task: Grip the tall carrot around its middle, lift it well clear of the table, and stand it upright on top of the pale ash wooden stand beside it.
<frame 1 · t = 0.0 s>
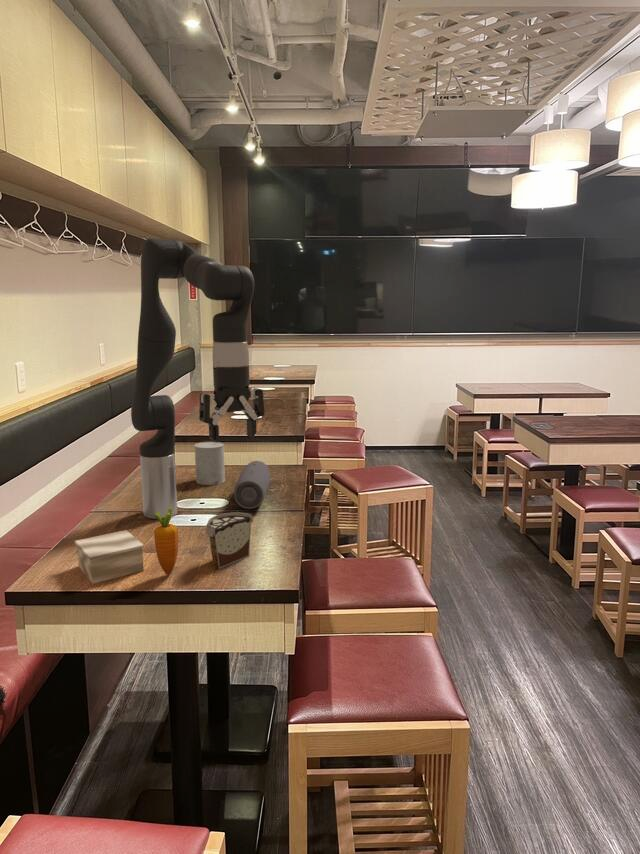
hand: (233, 439, 135), 29 cm above the table, tool pointing down, fingers open, 8 cm apart
carrot: (168, 576, 137), on the table
grey cylinder: (210, 481, 209), on the table
bluetooth speaker: (253, 501, 188), on the table
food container: (225, 559, 146), on the table
wooden stand: (110, 568, 141), on the table
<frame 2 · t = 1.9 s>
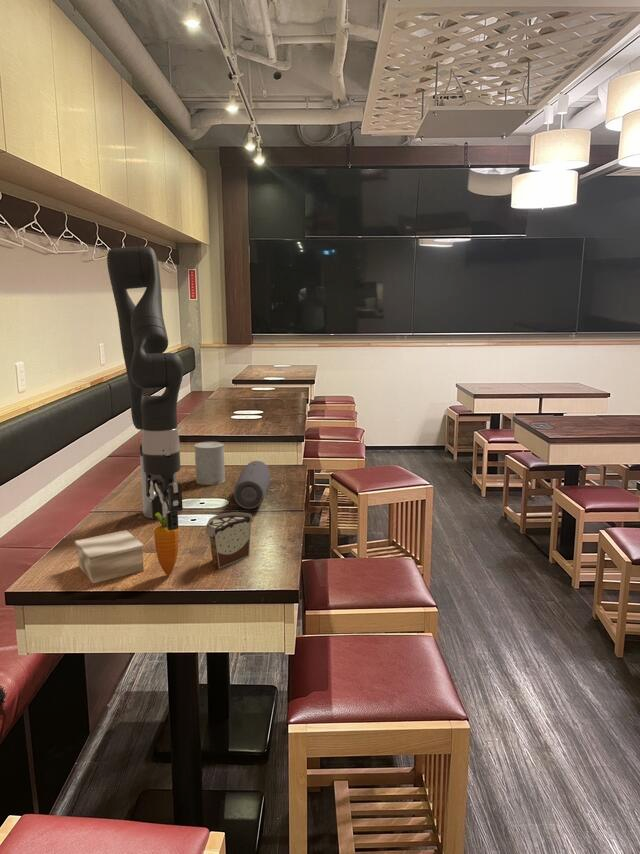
hand: (165, 523, 135), 12 cm above the table, tool pointing down, fingers open, 8 cm apart
nothing on the table moved.
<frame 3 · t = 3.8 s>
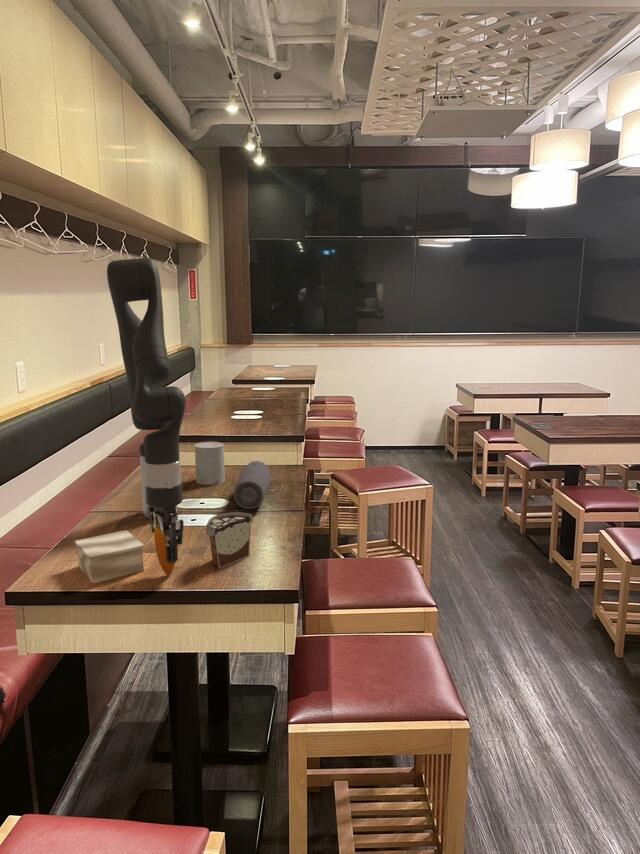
hand: (167, 557, 136), 4 cm above the table, tool pointing down, fingers closed on carrot, 4 cm apart
carrot: (168, 576, 137), on the table, touching gripper
everything else where it was.
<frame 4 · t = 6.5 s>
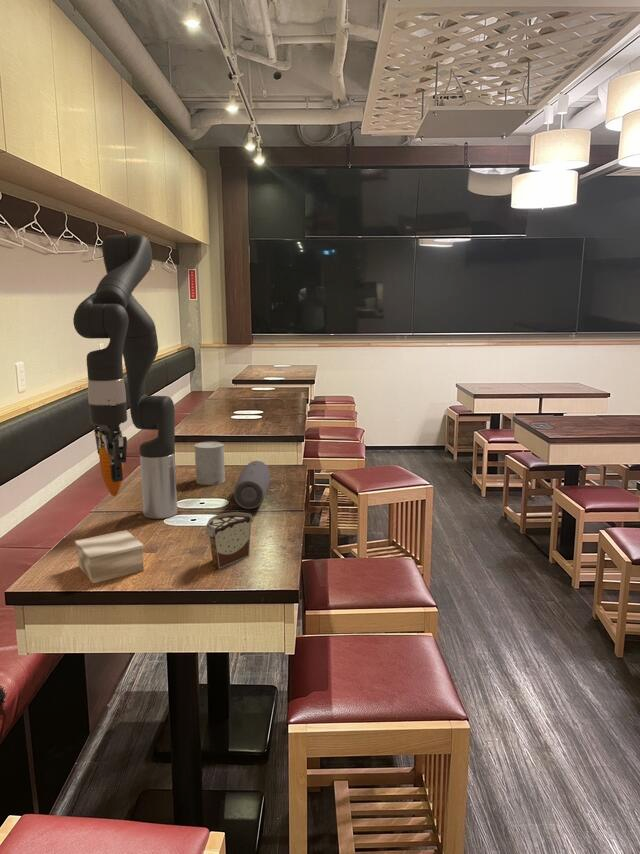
hand: (113, 477, 137), 21 cm above the table, tool pointing down, fingers closed on carrot, 4 cm apart
carrot: (114, 497, 137), point 17 cm above the table, touching gripper
everything else where it was.
when the fingers open (12 cm above the table, at t = 9.3 s): carrot drops 1 cm, resting on wooden stand.
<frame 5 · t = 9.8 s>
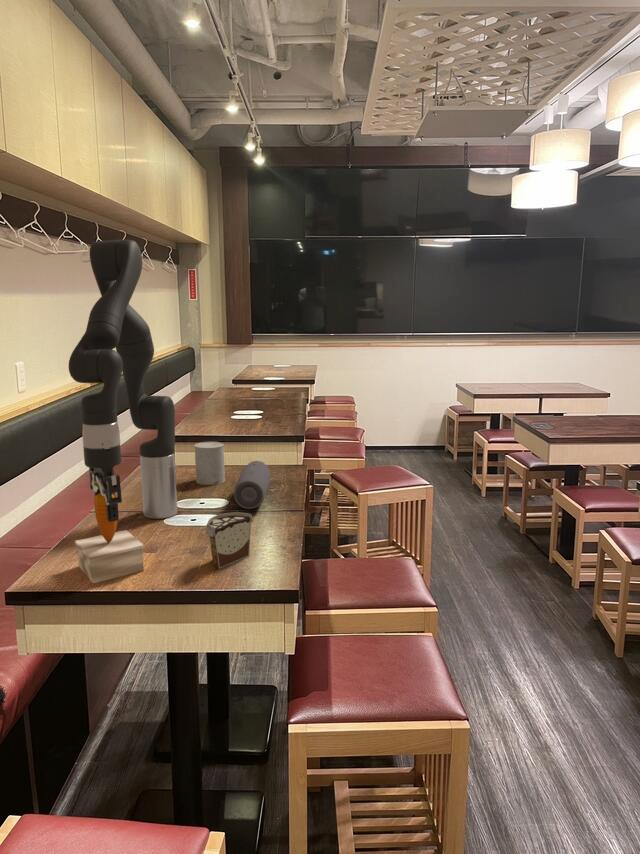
hand: (107, 515, 138), 12 cm above the table, tool pointing down, fingers open, 8 cm apart
carrot: (109, 543, 140), point 6 cm above the table, touching wooden stand
everything else where it was.
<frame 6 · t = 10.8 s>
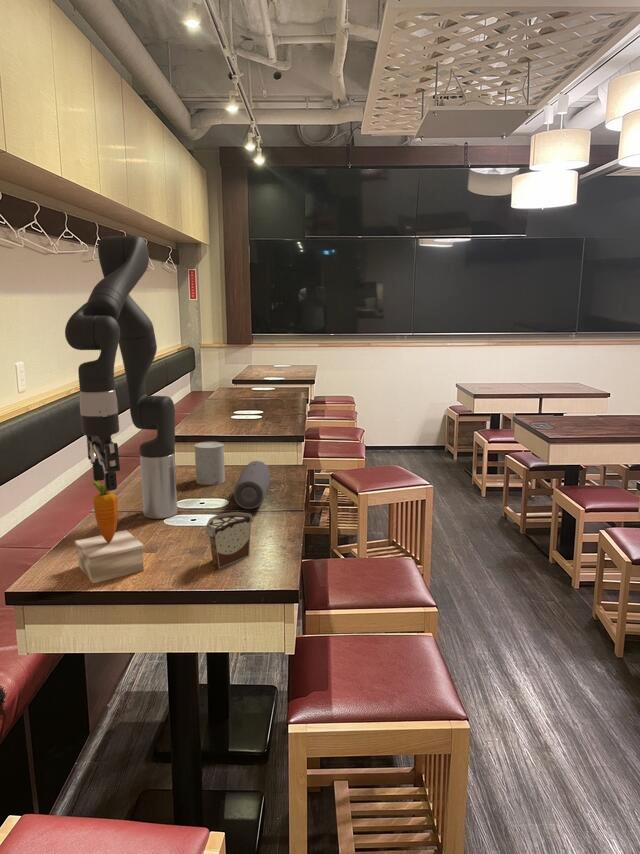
hand: (105, 484, 137), 19 cm above the table, tool pointing down, fingers open, 8 cm apart
nothing on the table moved.
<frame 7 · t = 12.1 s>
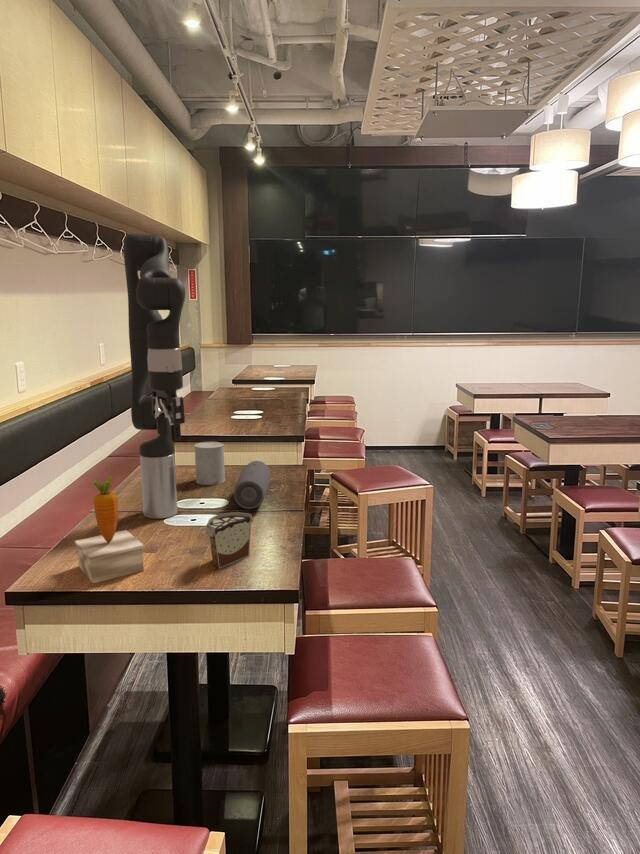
hand: (169, 437, 147), 27 cm above the table, tool pointing down, fingers open, 8 cm apart
nothing on the table moved.
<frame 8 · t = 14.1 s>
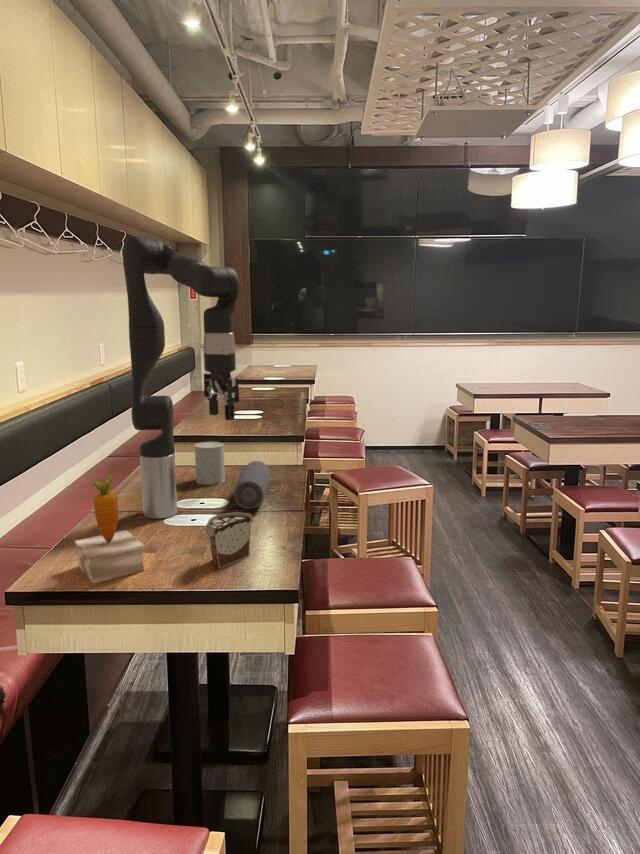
hand: (221, 417, 157), 30 cm above the table, tool pointing down, fingers open, 8 cm apart
nothing on the table moved.
at the end: carrot inside the target area on the wooden stand (0.2 cm from its centre), point 5.8 cm above the wooden stand's base; carrot tilted 1°; the gripper is holding nothing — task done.
